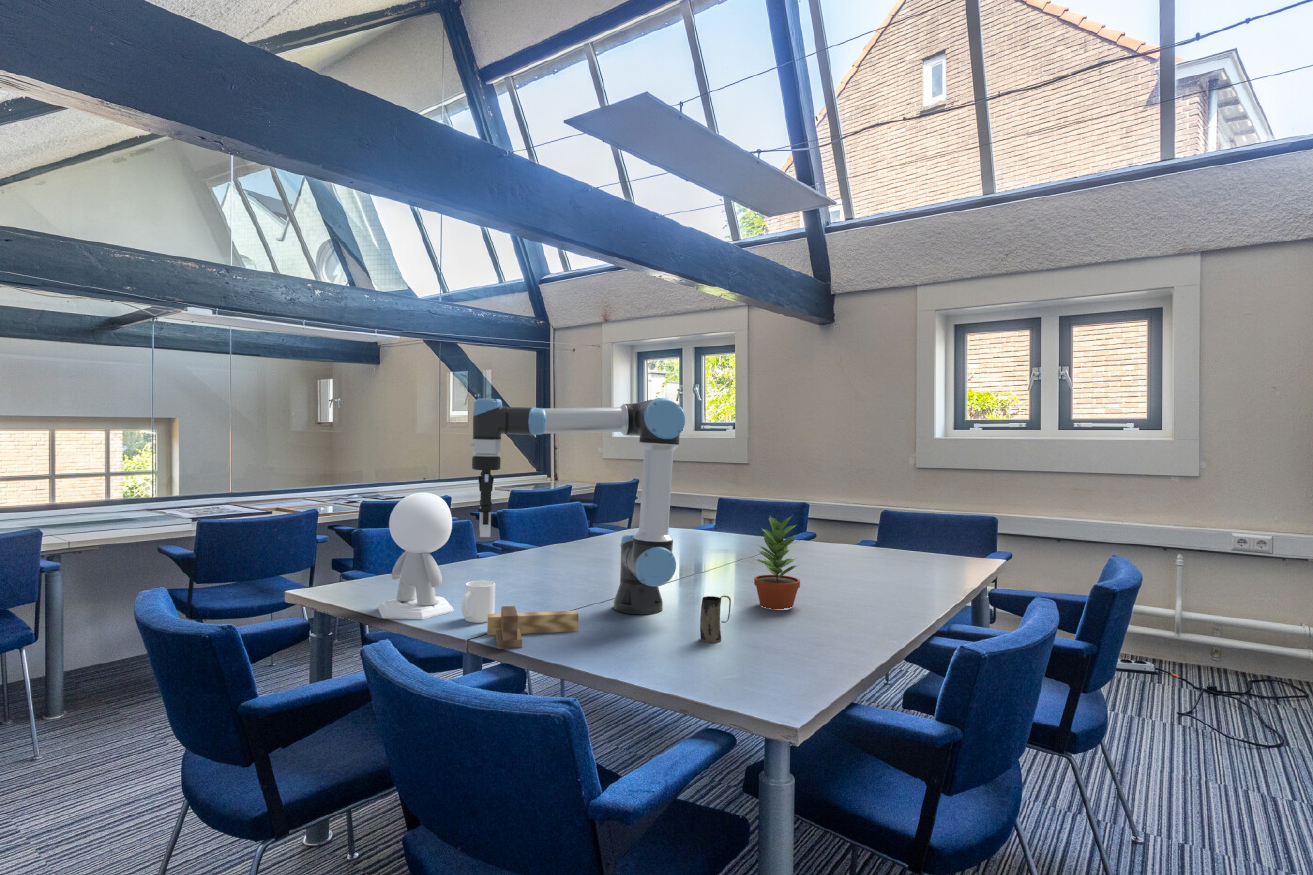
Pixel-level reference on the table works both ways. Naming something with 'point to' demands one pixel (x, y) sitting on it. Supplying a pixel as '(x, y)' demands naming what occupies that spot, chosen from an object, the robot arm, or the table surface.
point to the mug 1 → (478, 601)
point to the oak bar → (538, 622)
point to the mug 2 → (711, 619)
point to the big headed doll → (418, 557)
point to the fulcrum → (508, 629)
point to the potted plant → (777, 569)
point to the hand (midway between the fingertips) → (484, 533)
